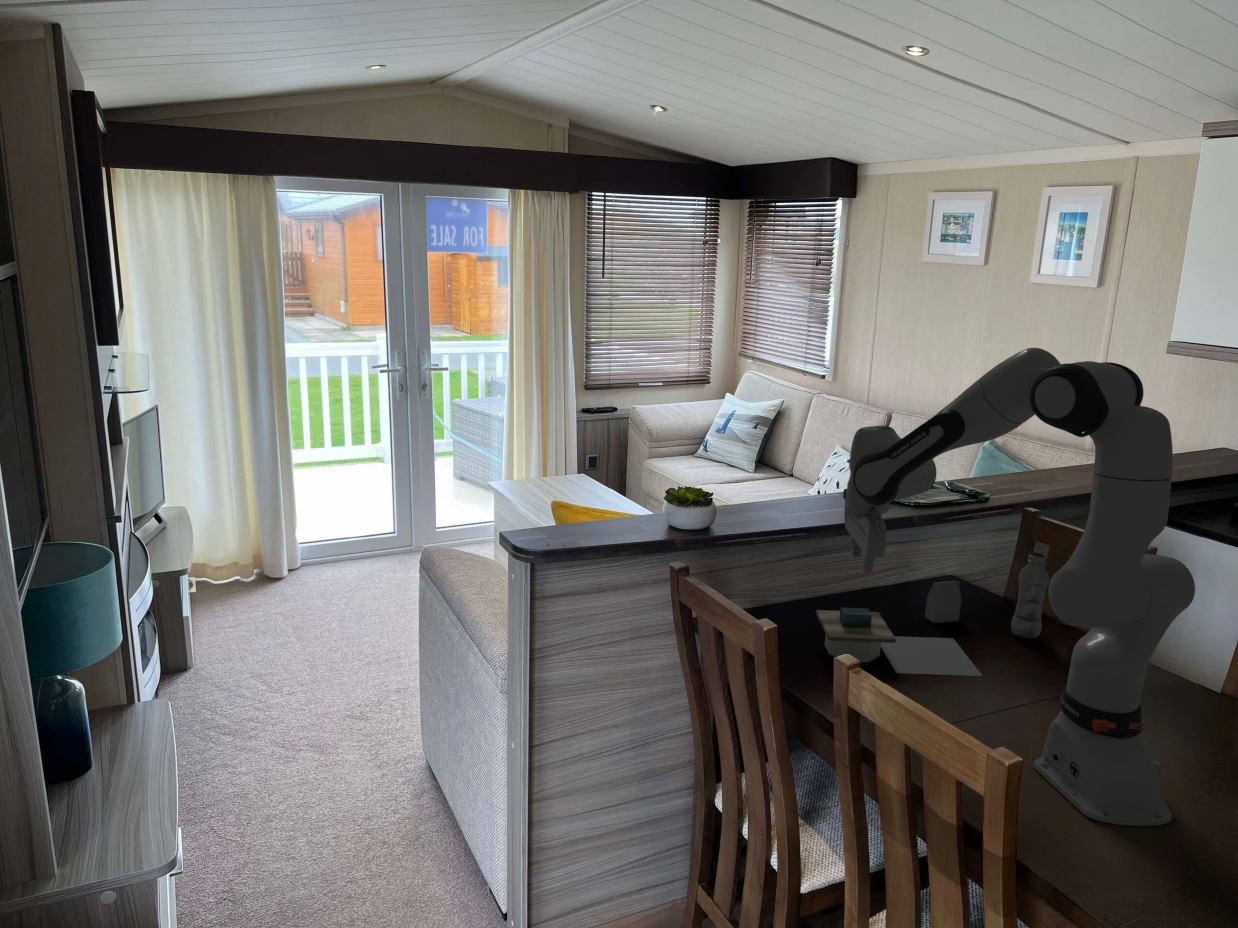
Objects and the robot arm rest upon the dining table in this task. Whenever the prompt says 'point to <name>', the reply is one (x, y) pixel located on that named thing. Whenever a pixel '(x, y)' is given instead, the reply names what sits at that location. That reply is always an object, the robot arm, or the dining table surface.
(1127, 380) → the robot arm
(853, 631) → the board
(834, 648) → the bowl
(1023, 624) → the plastic bottle
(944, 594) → the dark grey block
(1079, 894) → the dining table surface
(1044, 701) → the dining table surface
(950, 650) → the mat
